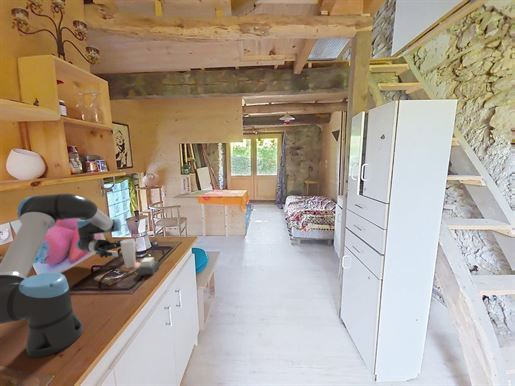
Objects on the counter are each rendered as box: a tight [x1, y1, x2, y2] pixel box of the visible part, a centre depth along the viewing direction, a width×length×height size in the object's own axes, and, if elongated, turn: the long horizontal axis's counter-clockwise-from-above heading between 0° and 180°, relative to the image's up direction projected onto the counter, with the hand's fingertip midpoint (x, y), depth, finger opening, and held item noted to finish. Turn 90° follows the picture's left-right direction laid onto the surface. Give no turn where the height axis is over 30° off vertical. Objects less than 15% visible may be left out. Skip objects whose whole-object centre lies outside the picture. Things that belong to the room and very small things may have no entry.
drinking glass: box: [120, 238, 137, 268], centre depth 134 cm, size 7×7×15 cm
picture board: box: [93, 260, 141, 285], centre depth 131 cm, size 22×13×1 cm, turn 151°
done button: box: [140, 256, 155, 267], centre depth 130 cm, size 5×5×4 cm
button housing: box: [136, 260, 160, 277], centre depth 131 cm, size 8×8×4 cm
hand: (127, 249), depth 134 cm, fingers open, 13 cm apart
